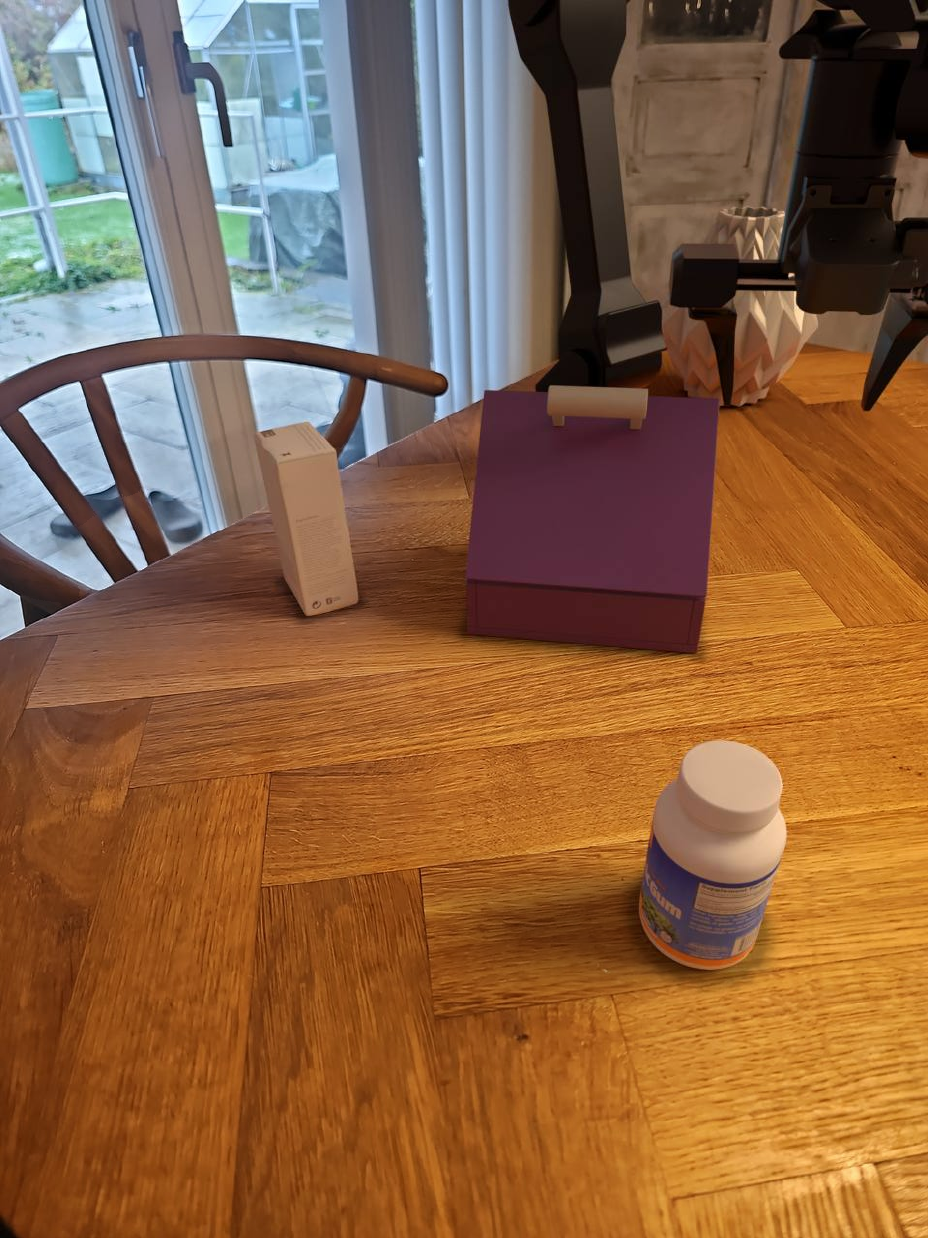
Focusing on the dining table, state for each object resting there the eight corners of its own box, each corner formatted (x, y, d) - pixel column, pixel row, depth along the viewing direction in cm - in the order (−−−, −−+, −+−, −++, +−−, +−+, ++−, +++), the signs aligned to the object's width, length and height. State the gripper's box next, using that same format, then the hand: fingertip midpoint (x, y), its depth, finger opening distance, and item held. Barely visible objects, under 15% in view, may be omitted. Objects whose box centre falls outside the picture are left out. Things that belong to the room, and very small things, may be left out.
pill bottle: (625, 878, 41) (644, 731, 36) (733, 869, 42) (769, 721, 36) (655, 981, 37) (682, 831, 31) (776, 969, 37) (824, 818, 32)
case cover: (485, 392, 58) (475, 361, 53) (718, 401, 55) (730, 368, 50) (465, 580, 56) (453, 565, 51) (705, 597, 53) (716, 584, 49)
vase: (632, 374, 100) (647, 201, 89) (766, 365, 101) (797, 194, 90) (675, 427, 87) (699, 232, 76) (829, 416, 88) (873, 222, 77)
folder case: (494, 544, 68) (493, 497, 66) (690, 557, 66) (697, 509, 63) (467, 634, 58) (465, 583, 56) (696, 654, 56) (705, 601, 53)
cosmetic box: (361, 603, 62) (343, 448, 55) (302, 620, 60) (275, 463, 53) (334, 565, 66) (314, 417, 59) (278, 579, 65) (251, 430, 58)
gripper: (688, 172, 45) (658, 447, 54) (1076, 170, 42) (975, 462, 51) (682, 147, 54) (657, 386, 63) (1001, 143, 51) (927, 395, 60)
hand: (794, 406), depth 59 cm, fingers open, 9 cm apart
